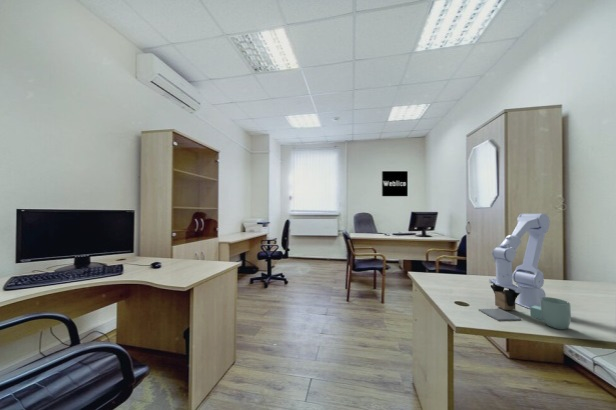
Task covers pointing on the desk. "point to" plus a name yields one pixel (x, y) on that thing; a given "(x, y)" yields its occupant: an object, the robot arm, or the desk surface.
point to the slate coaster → (499, 314)
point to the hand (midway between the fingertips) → (505, 303)
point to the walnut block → (502, 300)
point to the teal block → (536, 312)
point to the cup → (556, 312)
